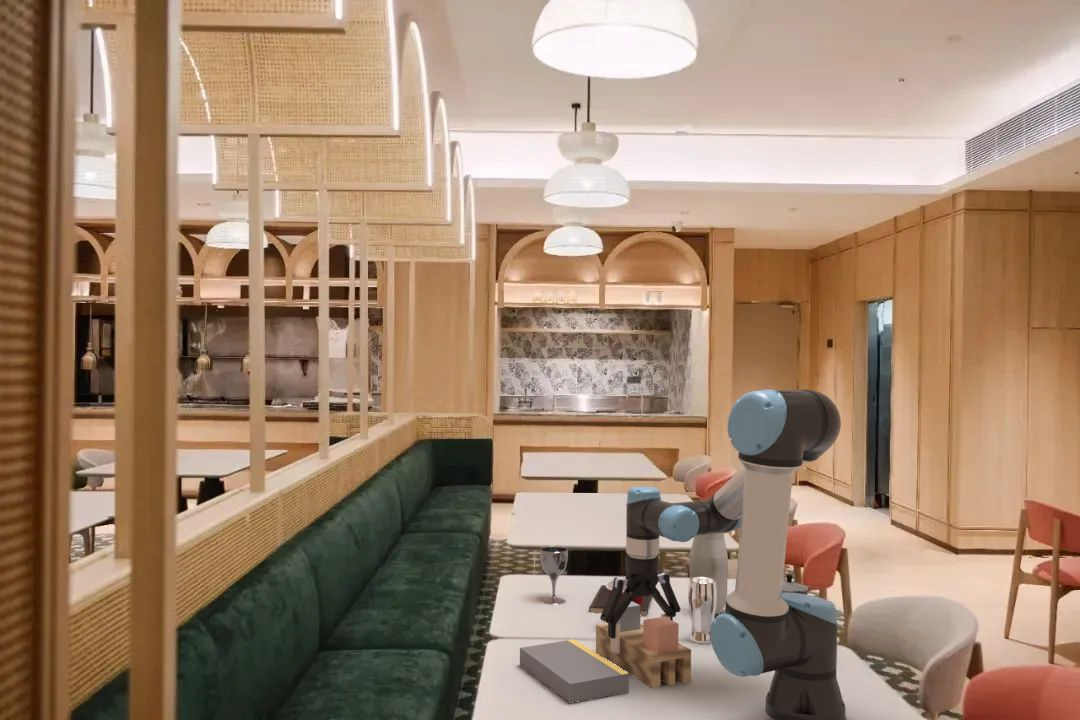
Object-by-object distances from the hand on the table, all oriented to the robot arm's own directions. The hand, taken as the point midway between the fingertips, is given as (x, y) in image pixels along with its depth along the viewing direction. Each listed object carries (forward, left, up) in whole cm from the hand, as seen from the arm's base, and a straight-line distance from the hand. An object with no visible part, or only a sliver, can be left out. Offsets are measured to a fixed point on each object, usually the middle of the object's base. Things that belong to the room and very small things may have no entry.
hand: (640, 647), depth 195 cm
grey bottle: (+26, -39, -4) cm, 47 cm away
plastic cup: (+24, -11, -4) cm, 26 cm away
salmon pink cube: (-8, 0, +3) cm, 8 cm away
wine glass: (+55, -6, -4) cm, 55 cm away
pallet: (0, 0, -4) cm, 4 cm away
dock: (0, +18, -4) cm, 18 cm away
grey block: (+7, 0, +3) cm, 8 cm away
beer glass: (+9, -24, -4) cm, 26 cm away
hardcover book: (+45, -23, -5) cm, 50 cm away
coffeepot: (-6, -39, -4) cm, 40 cm away
